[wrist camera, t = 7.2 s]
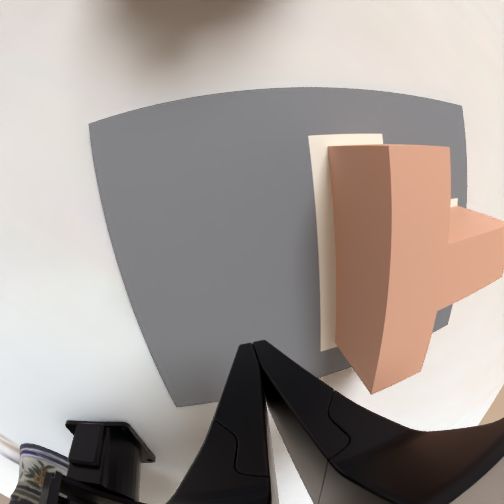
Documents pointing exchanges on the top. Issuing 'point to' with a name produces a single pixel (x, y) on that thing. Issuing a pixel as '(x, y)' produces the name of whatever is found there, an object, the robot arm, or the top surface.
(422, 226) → the t block
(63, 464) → the vase
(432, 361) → the top surface
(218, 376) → the mat
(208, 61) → the top surface
